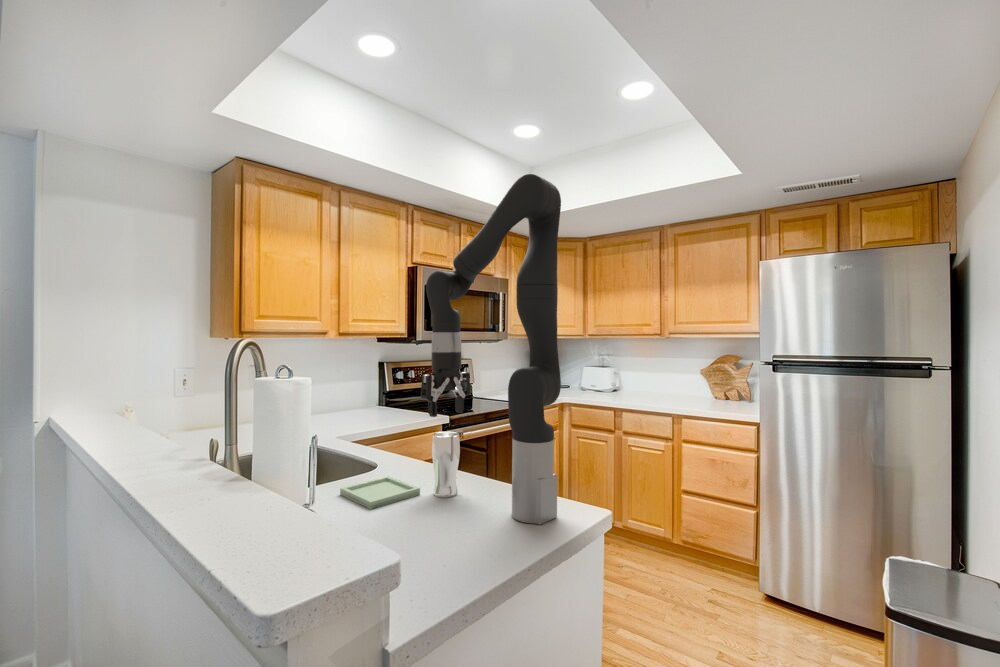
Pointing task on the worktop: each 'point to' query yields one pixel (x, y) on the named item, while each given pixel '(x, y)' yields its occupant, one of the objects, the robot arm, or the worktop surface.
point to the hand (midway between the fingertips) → (446, 414)
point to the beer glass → (445, 463)
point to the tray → (379, 492)
